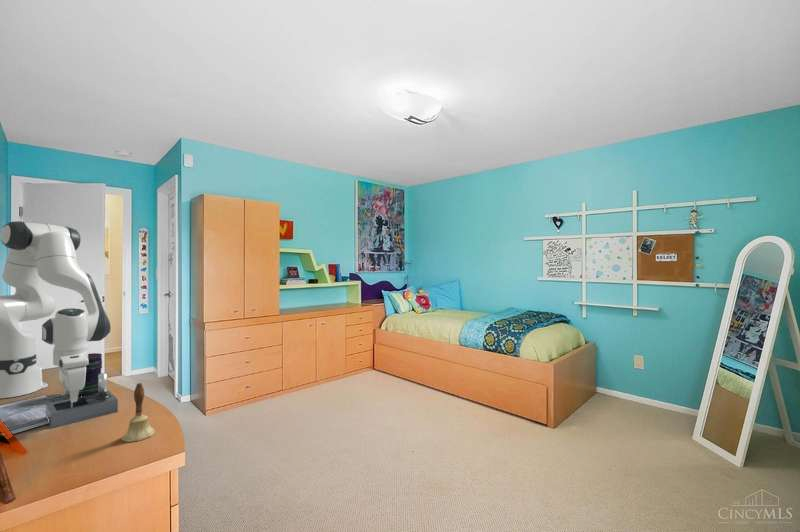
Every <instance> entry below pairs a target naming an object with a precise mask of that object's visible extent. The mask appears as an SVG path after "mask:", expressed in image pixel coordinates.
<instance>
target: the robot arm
mask: <svg viewBox="0 0 800 532" xmlns="http://www.w3.org/2000/svg"><path fill="white" fill-rule="evenodd" d="M0 239H1V243H2V245H3V246H5V247H6V248H8V252H7V255H6V260H5V263H4V267H3V271H2V276H1V278H2V281H3V282H4V283H5V284H6V285H8V286H10V287H12V288H15V291H14V292H15V293H14V294H8V295H7V294H6V295H0V399H8V398H15V397H20V396H24V395H30V394H31V393H35V392H37V391H39V390H41V389H45V388H47V387H49V384H48V383H46V382H44V381H43V374H42V373H43V372H42V371H43V370H42V367H41V366H38V365H37V360H38V358H37V354H36V346H35V345H36V343H35V340H36V339H35V336H34V334H32V333H31V332H28V331H25V330H22V329H21V328H20V324H19V323H21V322H29V321H37V320H41V319H43V318H47V317H49V316H51V315H52V314H54V312H55V309H56V308H57V307H56V305H57V304H56V300H55V299H54V297H53V296H51V295H50V294H48V293H47V291H45V288H44V285H43V281H44V282H45V283H46V284H47V283H48V284H50V285H53V286H56V287H60V288H63V289H64V288H65V289H68V290H72V291H74V292H76V293H78V294H79V295H81V297H82V299H83V303H84V304H85V308H86V311H87V312H86V311H85V310H84V309H80V308H75V307H74V308H72V307H71V308H64V309H60V310H58V311H56V312H55V316H54V317H53V318H52V317H51V318H49V319H47V320H46V321H45V322H44V323H43V324H41V329H42V330H41V333H42V334H41V335H42V336H41V341H43V342H44V343H46V344H47V345H50V346H51V345H53V346H54V347H53V350H52V365H53V366H57V368H58V379H59V380H60V381H61V382H62V381H63V379H64V380H65V387H66V388H67V389H68V390H69V391H68V390H66V389H64V388H63V389H64V390H63V391H64V393H63V394H64V395H65V396H69V399H70V402H76V401H78V393H79V390H82V389H83V388H84V385H85V377H86V365H88V364H89V360H88V354H89V344H88V342H100V341H102V340H103V339H105V338H106V337H107V336H108V335H109V334H110V333H111V322H110V319H109V317H108V316H107V315H108V314H107V313H106V312H105V310H104V307H103V304H102V301H101V298H100V296H99V293H98V290H97V287H96V284H95V282H94V280H93V278H92V276H91V275H90V274H89V273H86V272H85V271H83V269H82V268H81V267H80V265H79V264H78V263H79V262H78V258H77V257H78V256H77V252H76V251H77V250H78V249H79V247H80V245H81V234H80V233H79V231H78V230H77V229H75V228H72V227H68V226H61V225H57V224H51V223H42V222H41V223H38V222H26V221H25V222H24V221H21V220H20V221H19V220H18V221H17V220H16V221H9V222H7V223H6V224H5V225H4V226H3V227H2V230H1V233H0ZM87 313H88V314H87Z"/></svg>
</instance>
